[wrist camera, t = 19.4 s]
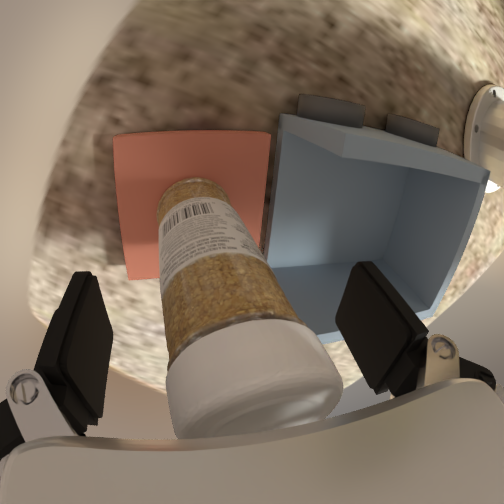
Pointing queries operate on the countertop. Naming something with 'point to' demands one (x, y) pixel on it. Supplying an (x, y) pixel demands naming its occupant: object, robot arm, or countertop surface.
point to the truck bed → (365, 208)
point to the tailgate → (176, 169)
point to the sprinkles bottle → (232, 326)
